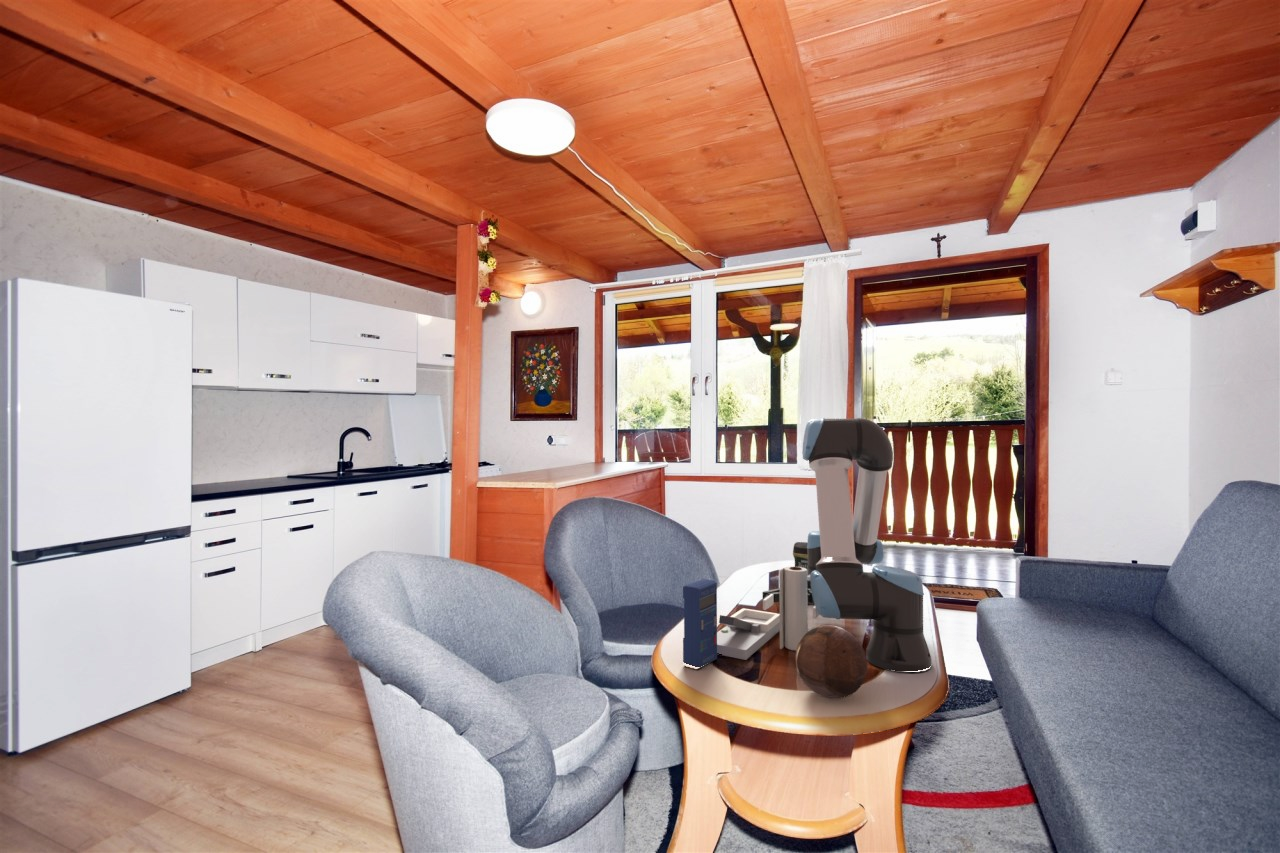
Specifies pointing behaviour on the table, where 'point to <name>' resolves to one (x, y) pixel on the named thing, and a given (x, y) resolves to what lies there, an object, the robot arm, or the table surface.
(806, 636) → the wooden sphere
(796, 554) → the coffee jar
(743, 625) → the breaker lever
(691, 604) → the electronic device
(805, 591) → the paper towel roll
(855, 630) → the table surface
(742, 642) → the board
